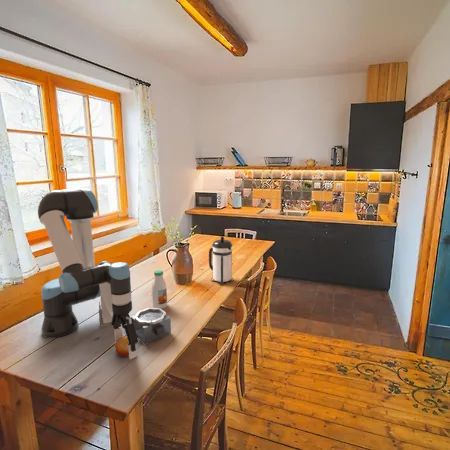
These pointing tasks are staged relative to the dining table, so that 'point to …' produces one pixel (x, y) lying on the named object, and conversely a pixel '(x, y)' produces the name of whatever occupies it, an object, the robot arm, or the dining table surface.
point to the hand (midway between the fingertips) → (125, 349)
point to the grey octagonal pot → (151, 324)
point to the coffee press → (221, 260)
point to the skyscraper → (105, 305)
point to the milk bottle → (159, 291)
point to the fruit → (122, 346)
